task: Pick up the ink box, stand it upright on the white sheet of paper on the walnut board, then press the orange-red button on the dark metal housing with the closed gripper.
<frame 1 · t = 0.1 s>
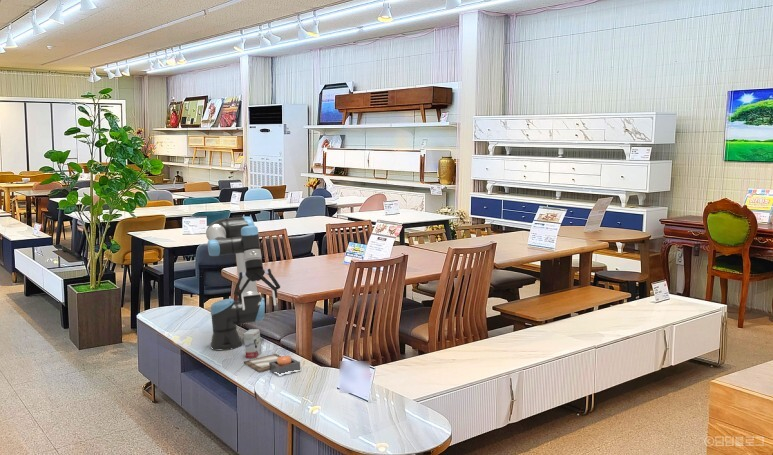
hand: (259, 307, 299), 28 cm above the tv stand, tool tilted 20°, fingers open, 13 cm apart
ink box: (253, 355, 325), on the tv stand
button housing: (285, 371, 297), on the tv stand
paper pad: (267, 363, 310), on the tv stand
button cap: (284, 362, 297), point 4 cm above the tv stand, slide at 0.0 cm
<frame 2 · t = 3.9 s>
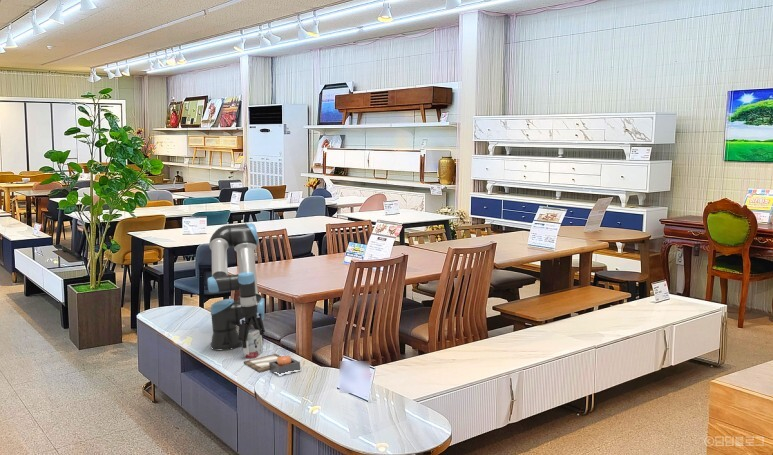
hand: (253, 351, 325), 2 cm above the tv stand, tool pointing down, fingers closed on ink box, 9 cm apart
ink box: (253, 355, 325), on the tv stand, touching gripper
everything else where it was.
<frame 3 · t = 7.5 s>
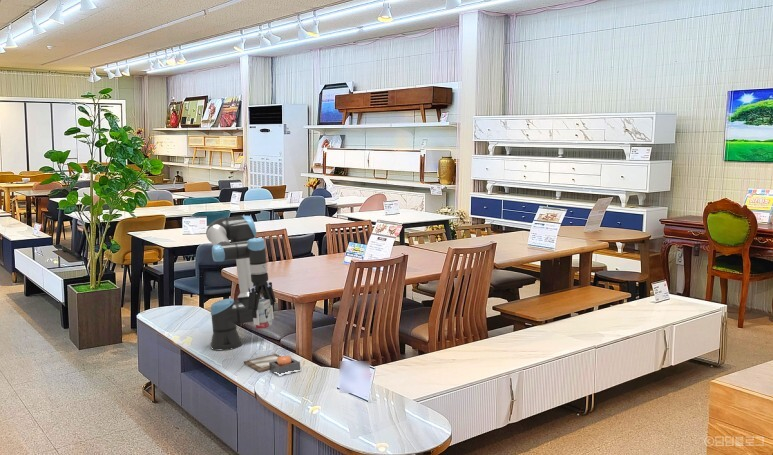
hand: (263, 321, 308), 19 cm above the tv stand, tool pointing down, fingers closed on ink box, 9 cm apart
ink box: (264, 326, 308), point 17 cm above the tv stand, touching gripper
everything else where it was.
when the fingers open (5 cm above the tv stand, at t = 11.1 s): ink box drops 1 cm, resting on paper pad.
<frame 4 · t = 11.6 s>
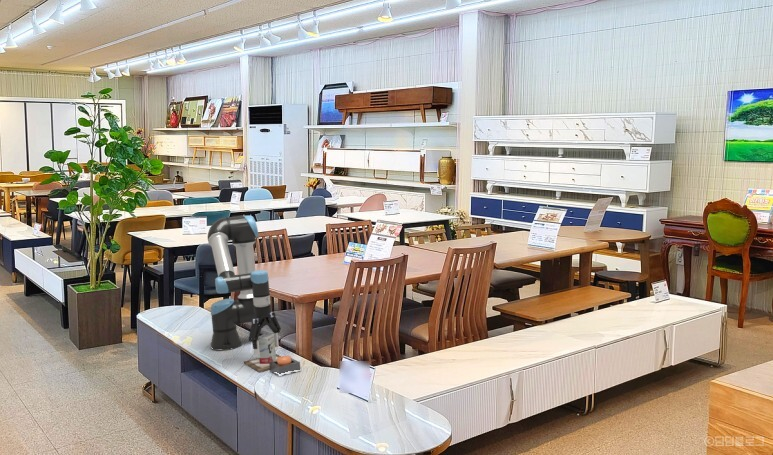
hand: (266, 351, 309), 6 cm above the tv stand, tool pointing down, fingers open, 13 cm apart
ink box: (268, 361, 310), point 1 cm above the tv stand, touching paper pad
everything else where it was.
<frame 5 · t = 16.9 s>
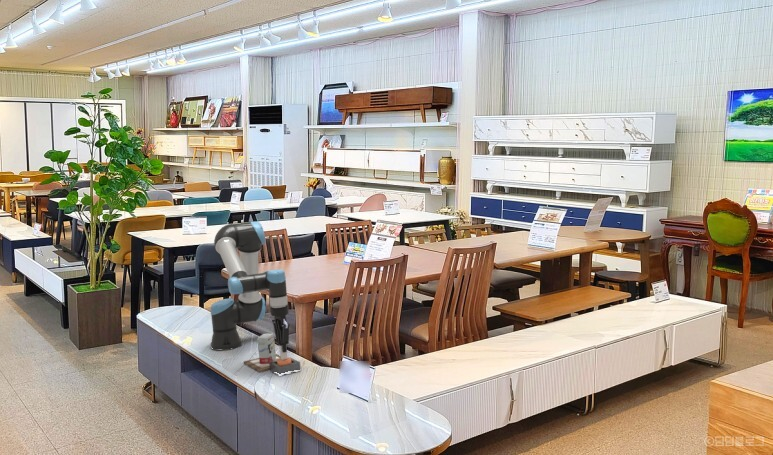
hand: (284, 358, 296), 6 cm above the tv stand, tool pointing down, fingers closed
button cap: (284, 363, 297), point 3 cm above the tv stand, slide at 0.7 cm, touching gripper
everything else where it was.
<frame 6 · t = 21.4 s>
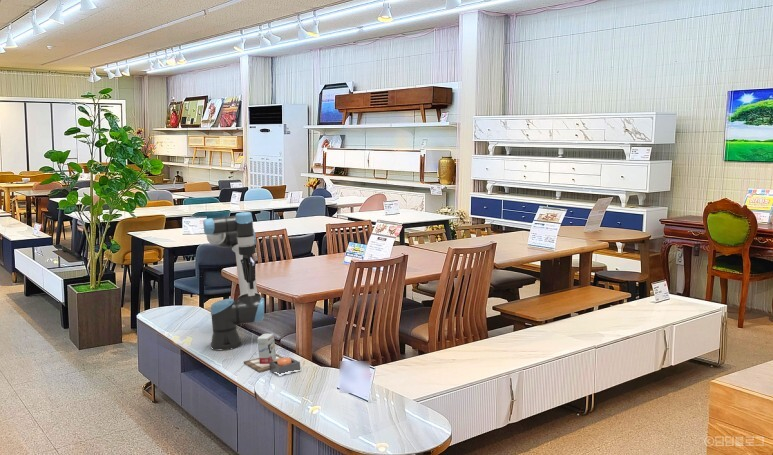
hand: (251, 295, 319), 29 cm above the tv stand, tool pointing down, fingers closed
button cap: (284, 364, 297), point 3 cm above the tv stand, slide at 0.8 cm
everything else where it was.
at the end: ink box inside the target area on the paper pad (0.3 cm from its centre), point 1.0 cm above the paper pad's base; ink box tilted 0°; button cap slide at 0.8 cm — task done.
